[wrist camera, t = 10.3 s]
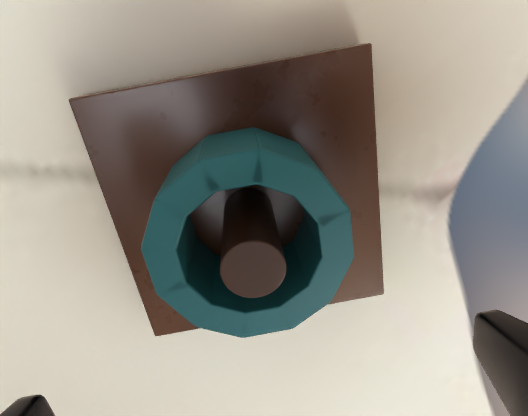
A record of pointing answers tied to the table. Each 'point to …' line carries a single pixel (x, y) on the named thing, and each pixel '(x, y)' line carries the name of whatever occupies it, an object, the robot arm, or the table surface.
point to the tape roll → (208, 264)
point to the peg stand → (249, 197)
